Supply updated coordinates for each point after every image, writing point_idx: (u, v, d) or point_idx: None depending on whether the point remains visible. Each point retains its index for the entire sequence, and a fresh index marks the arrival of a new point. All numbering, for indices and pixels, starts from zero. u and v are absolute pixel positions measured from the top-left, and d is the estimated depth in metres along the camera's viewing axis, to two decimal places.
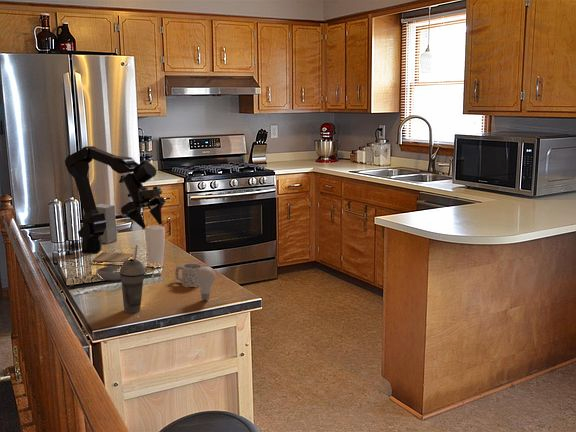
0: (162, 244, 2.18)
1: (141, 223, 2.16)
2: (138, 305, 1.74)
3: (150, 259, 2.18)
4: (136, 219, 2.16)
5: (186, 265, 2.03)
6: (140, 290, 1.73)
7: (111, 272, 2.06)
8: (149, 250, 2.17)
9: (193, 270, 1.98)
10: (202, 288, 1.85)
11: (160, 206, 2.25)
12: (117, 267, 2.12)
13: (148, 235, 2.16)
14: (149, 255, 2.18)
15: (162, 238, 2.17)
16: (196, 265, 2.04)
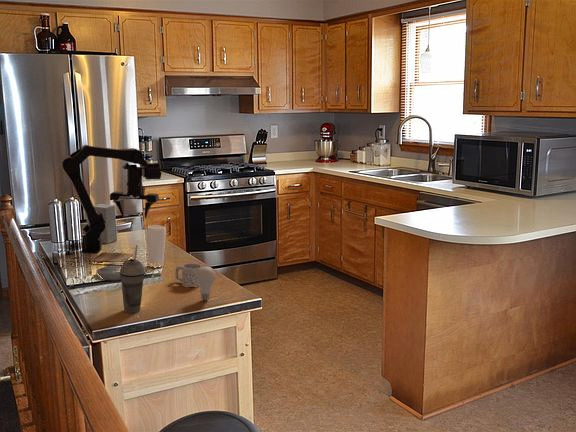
0: (163, 244, 2.18)
1: (147, 213, 2.43)
2: (138, 305, 1.74)
3: (150, 259, 2.18)
4: (148, 209, 2.41)
5: (186, 265, 2.03)
6: (140, 290, 1.73)
7: (111, 272, 2.06)
8: (150, 250, 2.17)
9: (193, 270, 1.98)
10: (202, 288, 1.85)
11: None
12: (117, 267, 2.12)
13: (149, 235, 2.16)
14: (149, 255, 2.18)
15: (163, 238, 2.17)
16: (196, 265, 2.04)
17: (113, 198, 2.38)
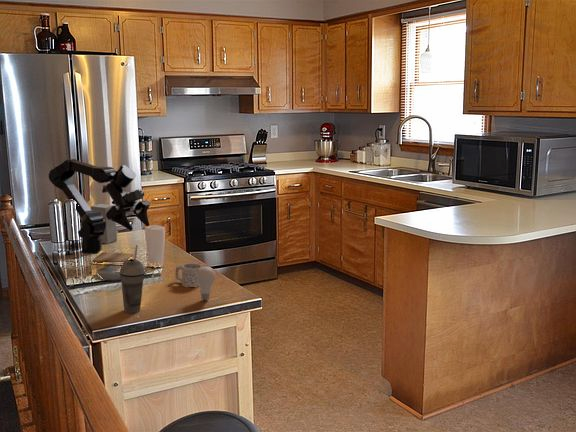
0: (162, 244, 2.18)
1: (128, 225, 2.19)
2: (138, 305, 1.74)
3: (150, 259, 2.18)
4: (122, 223, 2.19)
5: (186, 265, 2.03)
6: (140, 290, 1.73)
7: (111, 272, 2.06)
8: (149, 250, 2.17)
9: (193, 270, 1.98)
10: (202, 288, 1.85)
11: (145, 209, 2.28)
12: (117, 267, 2.12)
13: (148, 235, 2.16)
14: (149, 255, 2.18)
15: (162, 238, 2.17)
16: (196, 265, 2.04)
17: None
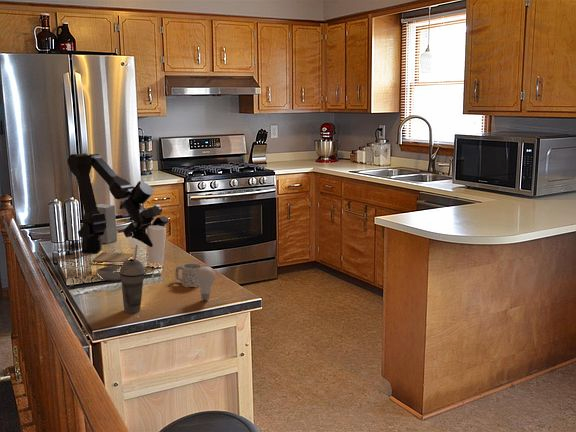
0: (163, 244, 2.18)
1: (148, 242, 2.16)
2: (138, 305, 1.74)
3: (150, 259, 2.18)
4: (142, 239, 2.16)
5: (186, 265, 2.03)
6: (140, 290, 1.73)
7: (111, 272, 2.06)
8: (150, 250, 2.17)
9: (193, 270, 1.98)
10: (202, 288, 1.85)
11: (161, 225, 2.23)
12: (117, 267, 2.12)
13: (149, 235, 2.16)
14: (150, 255, 2.18)
15: (163, 238, 2.17)
16: (196, 265, 2.04)
17: None
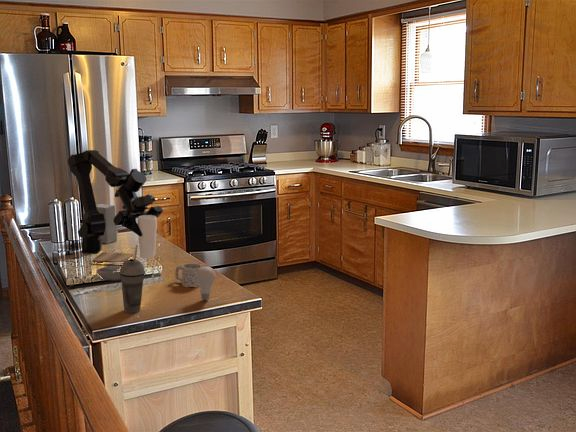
0: (153, 234, 2.13)
1: (137, 231, 2.11)
2: (138, 305, 1.74)
3: (141, 249, 2.14)
4: (132, 228, 2.12)
5: (186, 265, 2.03)
6: (140, 290, 1.73)
7: (111, 272, 2.06)
8: (140, 240, 2.13)
9: (193, 270, 1.98)
10: (202, 288, 1.85)
11: (154, 215, 2.18)
12: (117, 267, 2.12)
13: (139, 225, 2.11)
14: (140, 245, 2.13)
15: (153, 228, 2.12)
16: (196, 265, 2.04)
17: None
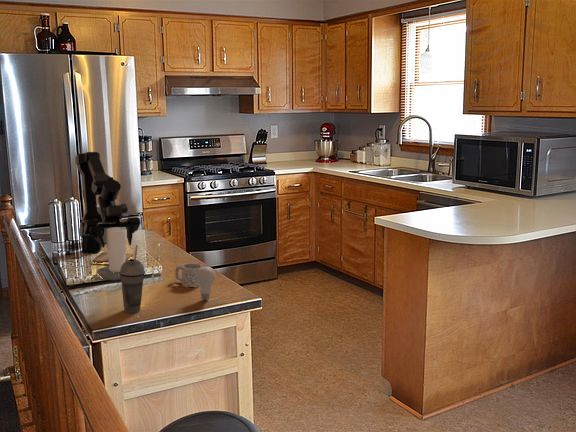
0: (119, 247, 2.04)
1: (100, 242, 2.03)
2: (138, 305, 1.74)
3: (109, 262, 2.06)
4: (97, 238, 2.04)
5: (186, 265, 2.03)
6: (140, 290, 1.73)
7: (111, 272, 2.06)
8: (108, 253, 2.05)
9: (193, 270, 1.98)
10: (202, 288, 1.85)
11: (131, 226, 2.09)
12: None
13: None
14: (108, 258, 2.06)
15: (120, 242, 2.03)
16: (196, 265, 2.04)
17: None
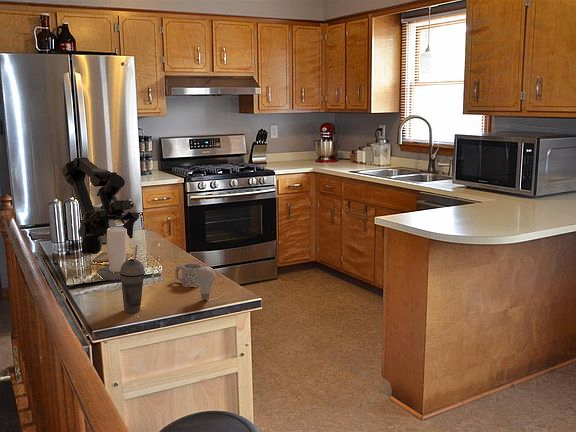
0: (120, 247, 2.04)
1: None
2: (138, 305, 1.74)
3: (109, 262, 2.06)
4: (103, 229, 2.14)
5: (186, 265, 2.03)
6: (140, 290, 1.73)
7: (111, 272, 2.06)
8: (108, 252, 2.05)
9: (193, 270, 1.98)
10: (202, 288, 1.85)
11: (132, 220, 2.23)
12: None
13: (107, 237, 2.04)
14: (108, 258, 2.06)
15: (120, 241, 2.03)
16: (196, 265, 2.04)
17: None
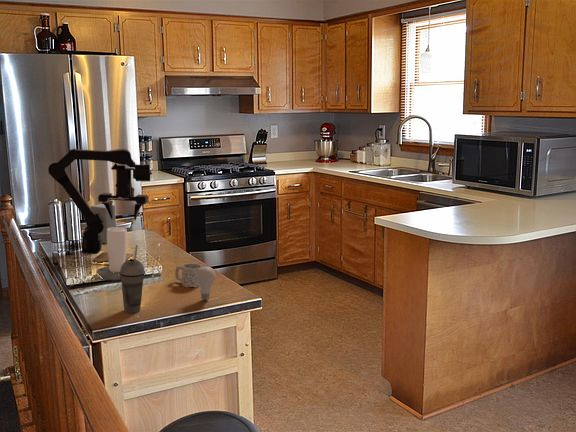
0: (120, 247, 2.04)
1: None
2: (138, 305, 1.74)
3: (109, 262, 2.06)
4: (137, 210, 2.36)
5: (186, 265, 2.03)
6: (140, 290, 1.73)
7: (111, 272, 2.06)
8: (108, 253, 2.05)
9: (193, 270, 1.98)
10: (202, 288, 1.85)
11: None
12: None
13: (107, 237, 2.04)
14: (108, 258, 2.06)
15: (120, 242, 2.03)
16: (196, 265, 2.04)
17: (102, 200, 2.33)
